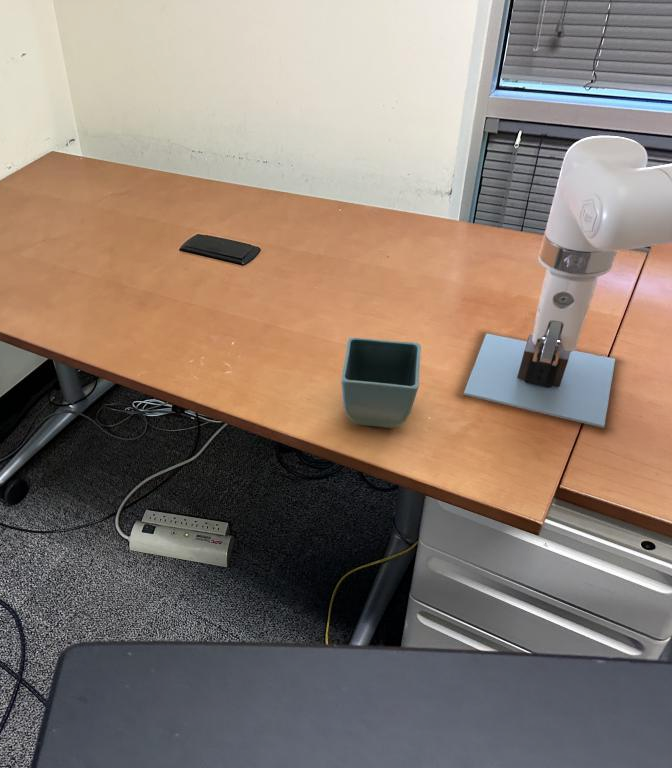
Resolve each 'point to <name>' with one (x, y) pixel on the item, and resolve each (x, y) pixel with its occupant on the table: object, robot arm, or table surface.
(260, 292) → the table surface
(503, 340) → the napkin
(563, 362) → the walnut block
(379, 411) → the flower pot
